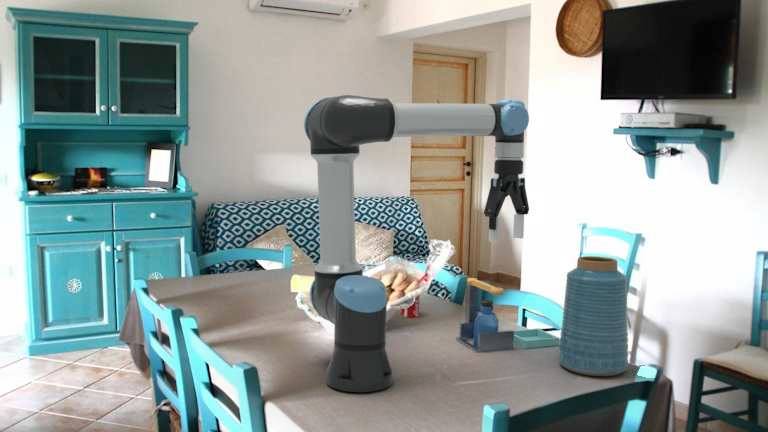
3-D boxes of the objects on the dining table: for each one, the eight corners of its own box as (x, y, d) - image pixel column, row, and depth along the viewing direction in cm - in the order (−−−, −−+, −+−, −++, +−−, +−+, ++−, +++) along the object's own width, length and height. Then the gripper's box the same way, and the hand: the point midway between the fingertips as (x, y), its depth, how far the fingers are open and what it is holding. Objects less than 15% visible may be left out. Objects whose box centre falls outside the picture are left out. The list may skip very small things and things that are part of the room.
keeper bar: (505, 295, 181) (505, 289, 181) (494, 295, 180) (494, 289, 180) (475, 282, 197) (475, 277, 197) (464, 283, 196) (465, 278, 196)
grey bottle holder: (513, 349, 185) (515, 294, 183) (475, 352, 181) (477, 297, 180) (484, 334, 200) (486, 283, 199) (449, 337, 196) (450, 285, 195)
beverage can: (413, 322, 213) (414, 283, 212) (396, 319, 215) (397, 281, 214) (422, 318, 218) (423, 280, 217) (405, 316, 220) (406, 278, 219)
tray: (559, 347, 188) (559, 338, 188) (524, 350, 184) (525, 340, 184) (538, 337, 198) (538, 328, 198) (504, 339, 194) (505, 331, 194)
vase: (598, 355, 181) (603, 252, 179) (642, 374, 166) (648, 262, 163) (544, 361, 175) (548, 255, 173) (585, 381, 160) (590, 265, 157)
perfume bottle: (496, 349, 185) (498, 304, 184) (473, 347, 186) (474, 303, 185) (497, 343, 191) (499, 299, 190) (474, 341, 192) (476, 298, 191)
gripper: (519, 159, 197) (516, 235, 199) (471, 158, 179) (469, 242, 181) (543, 159, 192) (540, 237, 194) (497, 159, 174) (494, 245, 176)
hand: (506, 240), depth 188 cm, fingers open, 12 cm apart
